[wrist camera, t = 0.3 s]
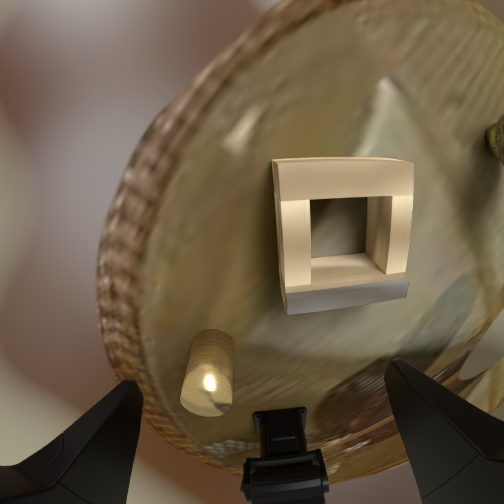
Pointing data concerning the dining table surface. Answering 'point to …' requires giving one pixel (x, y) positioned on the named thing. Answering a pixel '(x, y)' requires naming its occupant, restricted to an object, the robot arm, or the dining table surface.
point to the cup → (496, 139)
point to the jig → (377, 235)
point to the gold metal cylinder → (209, 374)
